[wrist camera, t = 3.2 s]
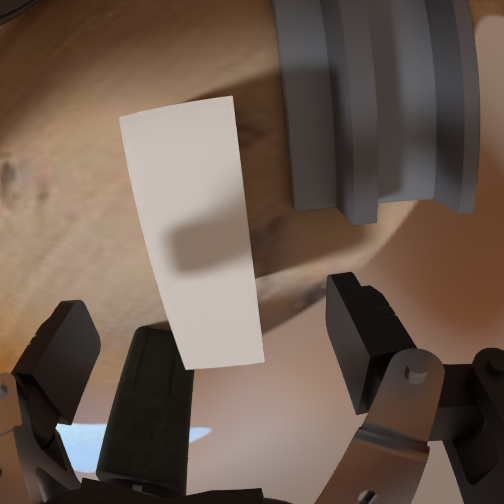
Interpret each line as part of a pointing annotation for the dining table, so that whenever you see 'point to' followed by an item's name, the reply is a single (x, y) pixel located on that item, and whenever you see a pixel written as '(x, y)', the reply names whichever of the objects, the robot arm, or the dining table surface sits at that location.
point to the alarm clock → (14, 9)
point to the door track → (379, 103)
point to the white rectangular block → (197, 228)
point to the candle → (149, 419)
